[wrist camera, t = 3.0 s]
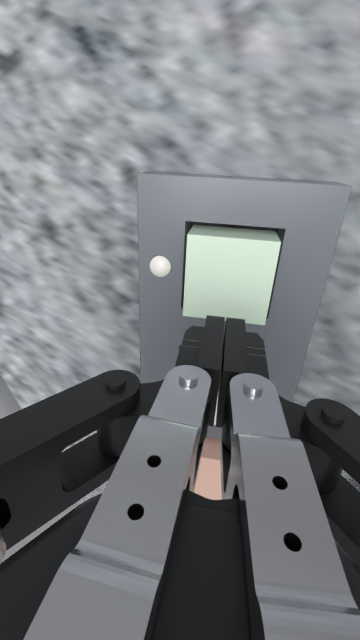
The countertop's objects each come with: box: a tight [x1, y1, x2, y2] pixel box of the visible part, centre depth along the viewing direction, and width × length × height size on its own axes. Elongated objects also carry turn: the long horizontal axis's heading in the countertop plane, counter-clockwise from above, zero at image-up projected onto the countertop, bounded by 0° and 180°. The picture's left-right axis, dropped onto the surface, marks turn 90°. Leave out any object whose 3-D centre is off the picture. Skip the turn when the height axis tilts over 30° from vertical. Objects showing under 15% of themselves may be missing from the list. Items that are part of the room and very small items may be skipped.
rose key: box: [194, 437, 222, 500], centre depth 28 cm, size 5×5×3 cm
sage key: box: [183, 225, 281, 325], centre depth 20 cm, size 5×5×3 cm
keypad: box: [137, 172, 352, 500], centre depth 26 cm, size 12×29×3 cm, turn 177°
